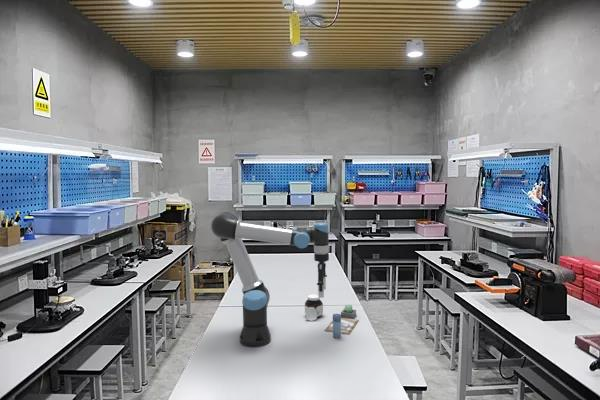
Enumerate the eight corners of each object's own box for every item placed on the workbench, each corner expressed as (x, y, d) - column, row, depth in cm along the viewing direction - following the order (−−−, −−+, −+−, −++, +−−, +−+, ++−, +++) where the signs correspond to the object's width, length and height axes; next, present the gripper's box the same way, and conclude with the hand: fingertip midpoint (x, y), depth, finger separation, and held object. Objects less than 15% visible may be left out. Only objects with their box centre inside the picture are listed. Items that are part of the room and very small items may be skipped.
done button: (351, 314, 227) (351, 307, 227) (343, 313, 229) (343, 306, 229) (353, 312, 231) (353, 305, 231) (346, 311, 233) (345, 304, 232)
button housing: (353, 319, 226) (353, 314, 225) (340, 317, 228) (340, 312, 228) (356, 315, 232) (356, 309, 232) (344, 313, 235) (344, 308, 235)
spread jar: (319, 312, 237) (319, 293, 236) (327, 319, 226) (327, 299, 225) (300, 315, 232) (299, 295, 231) (307, 322, 222) (307, 301, 221)
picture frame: (349, 334, 205) (349, 333, 205) (324, 331, 210) (324, 329, 210) (358, 320, 223) (358, 319, 223) (336, 317, 228) (336, 316, 228)
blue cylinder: (339, 338, 200) (339, 317, 199) (331, 337, 202) (331, 316, 201) (342, 335, 204) (341, 314, 203) (334, 334, 205) (334, 313, 205)
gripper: (327, 258, 197) (327, 301, 198) (330, 248, 221) (330, 286, 223) (311, 258, 198) (312, 300, 199) (316, 248, 222) (317, 286, 224)
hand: (322, 293), depth 211 cm, fingers open, 13 cm apart
